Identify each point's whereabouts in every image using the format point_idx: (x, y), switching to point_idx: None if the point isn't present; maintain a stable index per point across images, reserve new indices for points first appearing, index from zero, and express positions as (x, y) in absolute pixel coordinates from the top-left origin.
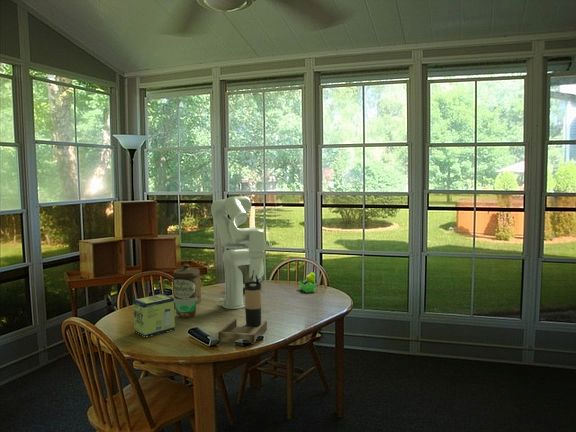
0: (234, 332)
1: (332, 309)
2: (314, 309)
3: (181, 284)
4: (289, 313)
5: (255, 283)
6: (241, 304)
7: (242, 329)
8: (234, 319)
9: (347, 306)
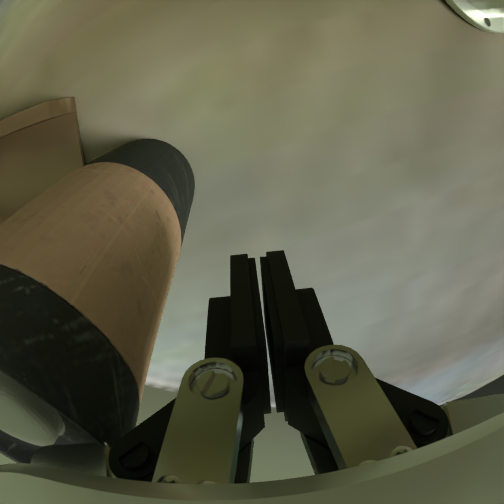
0: (3, 160)
1: (429, 388)
2: (440, 349)
3: None
4: (397, 291)
5: (112, 432)
6: (478, 7)
7: (46, 172)
8: (37, 113)
9: (449, 400)
